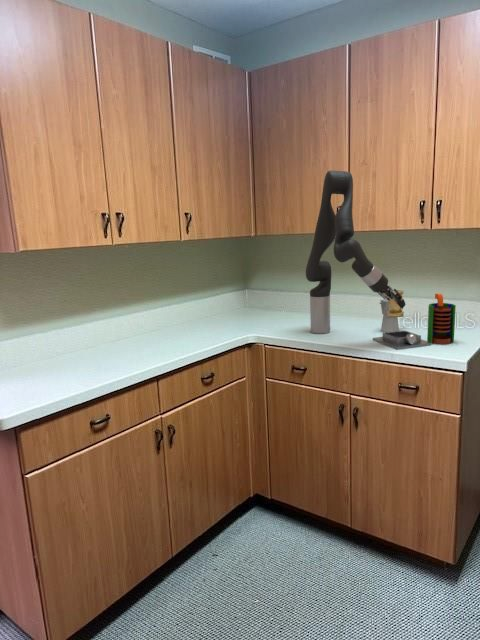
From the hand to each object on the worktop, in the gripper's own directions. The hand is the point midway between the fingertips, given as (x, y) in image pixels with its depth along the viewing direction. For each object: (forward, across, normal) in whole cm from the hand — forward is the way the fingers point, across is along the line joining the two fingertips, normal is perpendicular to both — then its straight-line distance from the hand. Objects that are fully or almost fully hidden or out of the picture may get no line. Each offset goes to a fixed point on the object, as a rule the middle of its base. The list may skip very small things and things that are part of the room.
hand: (399, 305), depth 200 cm
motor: (+22, -6, +1) cm, 23 cm away
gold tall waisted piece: (+2, 0, +4) cm, 5 cm away
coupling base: (+12, 0, +10) cm, 16 cm away
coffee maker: (+18, +21, +5) cm, 29 cm away
